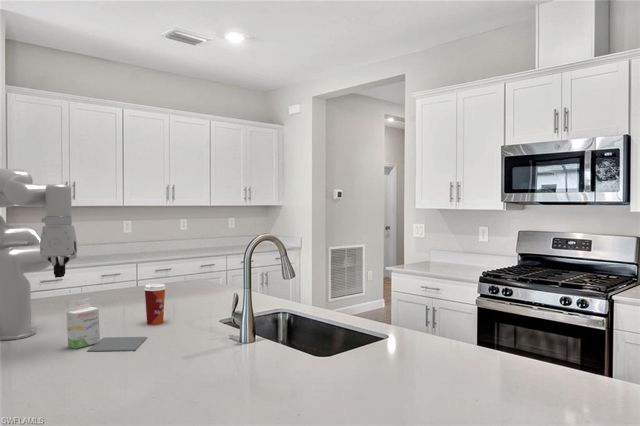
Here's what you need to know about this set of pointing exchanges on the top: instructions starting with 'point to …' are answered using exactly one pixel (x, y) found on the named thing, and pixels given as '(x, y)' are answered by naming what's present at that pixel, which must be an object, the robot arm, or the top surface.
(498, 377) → the top surface
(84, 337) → the ink box
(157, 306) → the coffee cup
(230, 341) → the top surface
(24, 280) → the robot arm
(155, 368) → the top surface
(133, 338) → the mat
